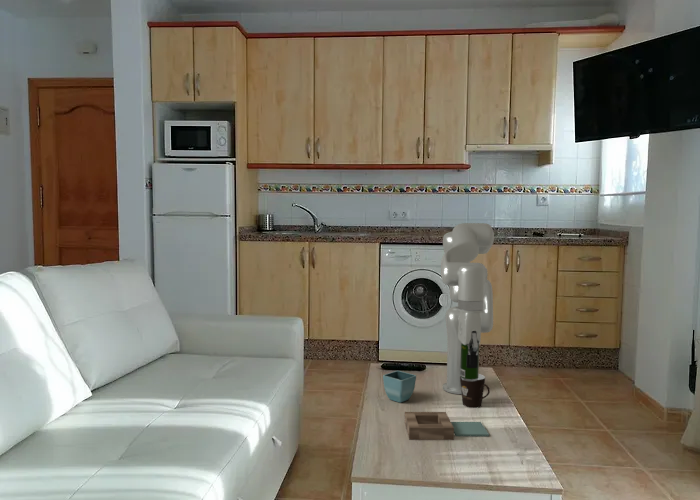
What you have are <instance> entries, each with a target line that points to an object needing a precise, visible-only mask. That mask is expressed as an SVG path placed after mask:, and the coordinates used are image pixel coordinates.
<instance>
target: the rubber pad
mask: <svg viewBox="0 0 700 500" xmlns="http://www.w3.org/2000/svg"><path fill="white" fill-rule="evenodd" d="M451 423H452V425H453V427H454V437H490V433H489V432H488V431H487V429H486V428H485V426H484V425H483V423H482V421H451Z"/></svg>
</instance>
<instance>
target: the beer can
mask: <svg viewBox="0 0 700 500" xmlns="http://www.w3.org/2000/svg"><path fill="white" fill-rule="evenodd" d="M477 342H478V341H477ZM469 344H472V342H469ZM470 348H471V347H470ZM467 354H468V349H467V344H466V345H464V344H463V343H462V342H461V372H460V377H461V379H462V380H464V381H477V379H478V374H479V371H480V370H479V366H480V364H479V363H480V360H479V358H480V344H479V345H478V367H477V368H467V367H466V362H467Z"/></svg>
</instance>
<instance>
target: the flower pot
mask: <svg viewBox="0 0 700 500" xmlns="http://www.w3.org/2000/svg"><path fill="white" fill-rule="evenodd" d="M382 379H383V387H384V392H385V394H386V396H387V398H388V399H389V400H390V401H393V402H397V403H403V402H406V401H408V400H409V399H410V398H411V397H412V395H413V393H414V390H415V388H416V387H415V386H416V381H417V375H416V374H412V373H409V372H405V371H401V370H395V371H392V372H389V373H385V374H383V375H382Z"/></svg>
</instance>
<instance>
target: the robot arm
mask: <svg viewBox="0 0 700 500" xmlns="http://www.w3.org/2000/svg"><path fill="white" fill-rule="evenodd" d="M494 240H495V233H494V229H493V227H492V226H491V225H490V224H489V223H485V222H482V223H481V222H464V223H463V222H461V223H458V224H457V225H455V226H454V227H453V228H452V231H449V232H447V233H444V235H443V237H442V245H443V246H442V247H443V251H444V253H443V255H442V258H441V262H440V275H441V281H442V282H443V284H444V285H446V286H449V298H450V299H451V301H452V302H454V303H457V306H452V307H449V308H448V309H447V310H446V313H445V325H446V333H447V334H446V335H447V341H446V342H447V345H446V346H447V348H446V349H447V353H446V382H445V383H443V384H442V389H443V391H445V392H448V393H450V394H455V395H462V392H461V382H460V372H461V342H462V343H463V344H464V345H466V344H467V349H468V354H467V362H466V367H467V368H477V367H478V345H479V346H480V344H481V340H482V339H481V338H482V337H481V336H482V333H483V334H484V333H490V332H492V330H493V327H494V293H493V285H492V282H491V281H490V280H489V279H488V276H489V275H488V274H489V273H488V268H487V267H486V266H485V264H484V263H481V262H474V260H475V259H477V257H479V254H480V255H484V254H487V253H489V252H490V250H491V248H492V247H493V245H494ZM477 341H478V342H477ZM469 342H472V344H469ZM470 347H471V348H470Z"/></svg>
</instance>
